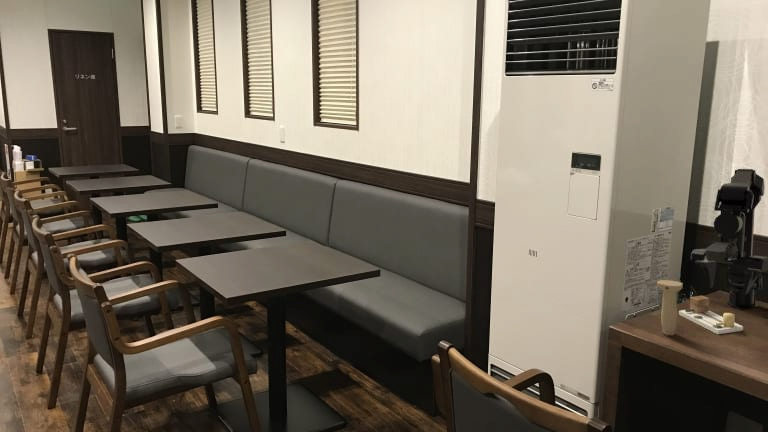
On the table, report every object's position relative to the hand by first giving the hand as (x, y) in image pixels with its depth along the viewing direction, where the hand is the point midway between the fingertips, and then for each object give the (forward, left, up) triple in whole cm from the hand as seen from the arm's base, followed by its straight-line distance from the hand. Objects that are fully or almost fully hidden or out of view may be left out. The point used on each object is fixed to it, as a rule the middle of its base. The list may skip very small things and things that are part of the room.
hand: (727, 290), depth 163 cm
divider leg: (-5, -18, -13) cm, 22 cm away
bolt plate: (-5, -12, -14) cm, 19 cm away
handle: (+11, -8, -14) cm, 20 cm away
